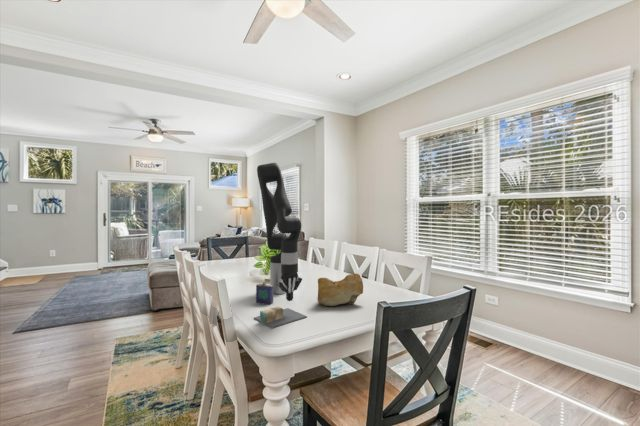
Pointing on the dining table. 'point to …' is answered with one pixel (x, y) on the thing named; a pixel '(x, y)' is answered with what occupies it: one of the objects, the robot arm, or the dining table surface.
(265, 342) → the dining table surface
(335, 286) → the rough brown rock
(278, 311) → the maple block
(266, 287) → the flask
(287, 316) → the rubber mat
